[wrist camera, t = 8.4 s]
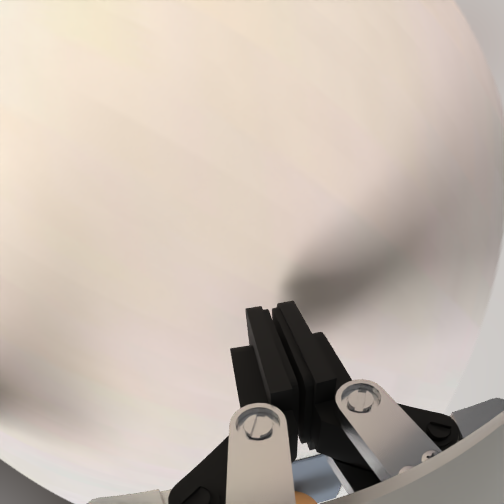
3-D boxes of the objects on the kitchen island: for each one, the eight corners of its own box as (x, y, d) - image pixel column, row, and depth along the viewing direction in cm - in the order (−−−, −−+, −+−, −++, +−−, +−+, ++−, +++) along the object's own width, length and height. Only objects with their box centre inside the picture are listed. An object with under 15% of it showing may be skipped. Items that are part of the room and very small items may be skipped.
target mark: (188, 476, 16) (188, 478, 16) (355, 443, 17) (356, 445, 17) (218, 519, 20) (218, 520, 20) (335, 496, 22) (335, 497, 21)
